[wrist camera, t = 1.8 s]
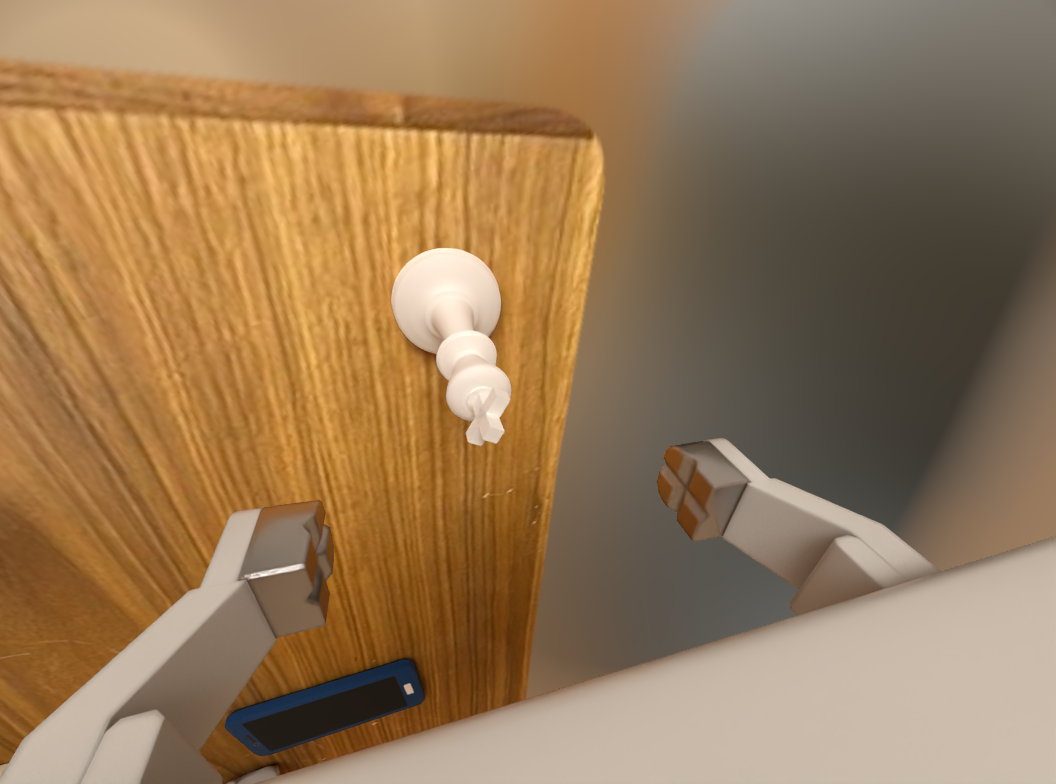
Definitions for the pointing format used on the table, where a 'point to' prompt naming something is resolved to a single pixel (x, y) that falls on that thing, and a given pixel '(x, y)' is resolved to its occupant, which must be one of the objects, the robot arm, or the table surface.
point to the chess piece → (457, 332)
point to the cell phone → (327, 708)
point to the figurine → (257, 775)
